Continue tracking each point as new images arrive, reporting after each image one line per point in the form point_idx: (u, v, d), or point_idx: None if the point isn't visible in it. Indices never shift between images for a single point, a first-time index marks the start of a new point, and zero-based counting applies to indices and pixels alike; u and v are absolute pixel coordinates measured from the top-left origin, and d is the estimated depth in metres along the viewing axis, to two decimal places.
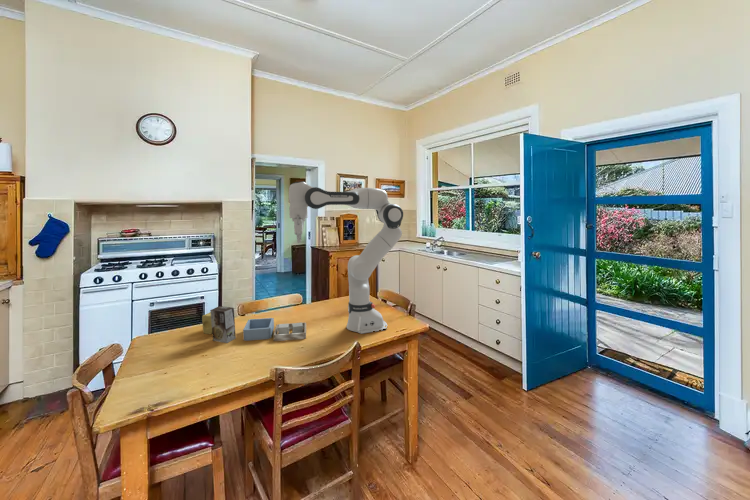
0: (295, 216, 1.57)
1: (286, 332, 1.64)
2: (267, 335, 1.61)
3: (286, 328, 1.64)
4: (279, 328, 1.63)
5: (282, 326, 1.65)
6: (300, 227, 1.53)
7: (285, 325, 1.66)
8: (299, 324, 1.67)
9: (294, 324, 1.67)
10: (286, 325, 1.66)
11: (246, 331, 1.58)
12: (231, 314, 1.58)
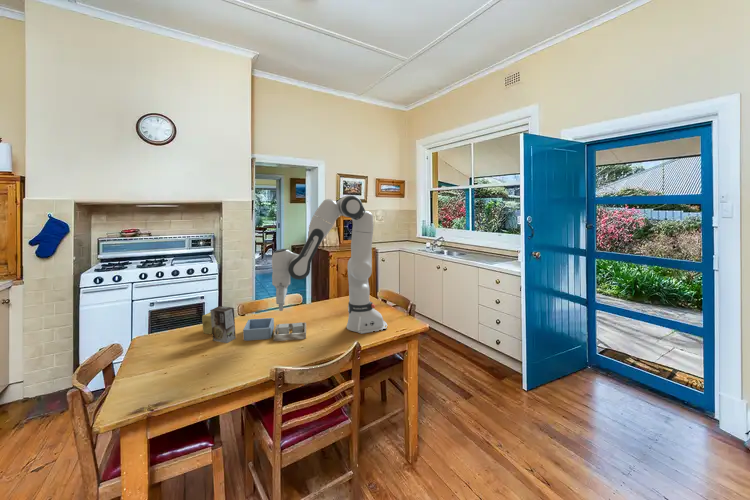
0: (277, 284, 1.58)
1: (286, 332, 1.64)
2: (267, 335, 1.61)
3: (286, 328, 1.64)
4: (279, 328, 1.63)
5: (282, 326, 1.64)
6: (282, 297, 1.53)
7: (285, 325, 1.66)
8: (299, 324, 1.67)
9: (294, 324, 1.67)
10: (286, 325, 1.66)
11: (246, 331, 1.58)
12: (231, 314, 1.58)
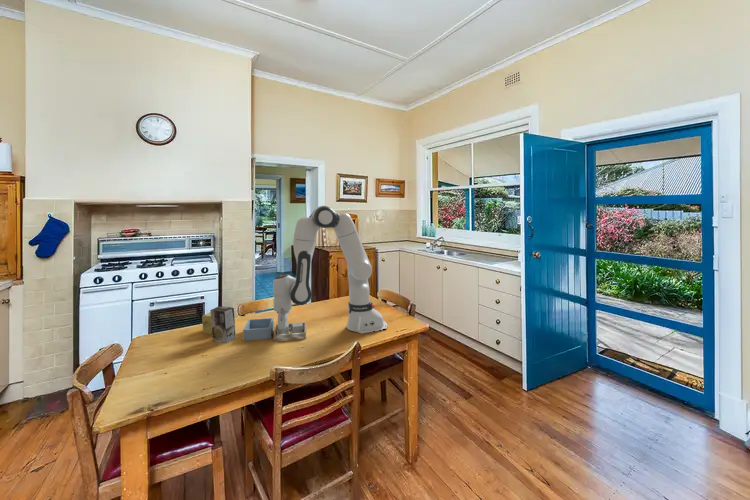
0: (279, 310, 1.60)
1: (286, 332, 1.64)
2: (267, 335, 1.61)
3: (286, 328, 1.64)
4: None
5: None
6: (283, 323, 1.56)
7: None
8: (299, 324, 1.67)
9: (294, 324, 1.67)
10: (286, 325, 1.66)
11: (246, 331, 1.58)
12: (231, 314, 1.58)
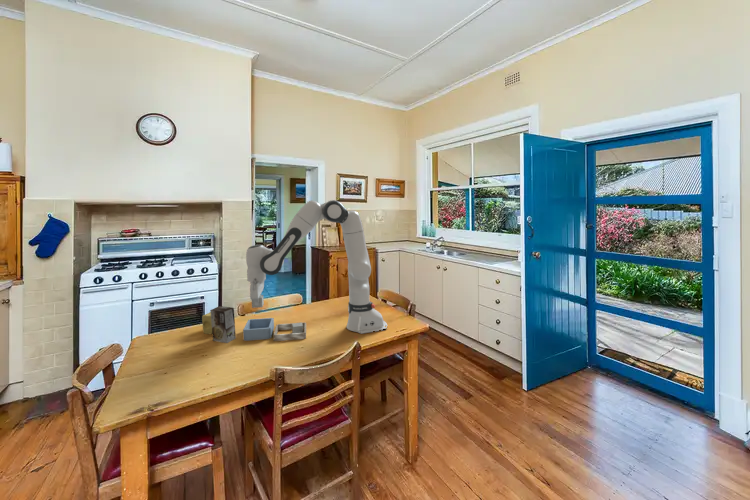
0: (252, 280, 1.58)
1: (260, 303, 1.63)
2: (267, 335, 1.61)
3: (260, 299, 1.62)
4: None
5: None
6: (256, 292, 1.54)
7: (259, 296, 1.64)
8: (299, 324, 1.67)
9: (294, 324, 1.67)
10: (260, 296, 1.64)
11: (246, 331, 1.58)
12: (231, 314, 1.58)
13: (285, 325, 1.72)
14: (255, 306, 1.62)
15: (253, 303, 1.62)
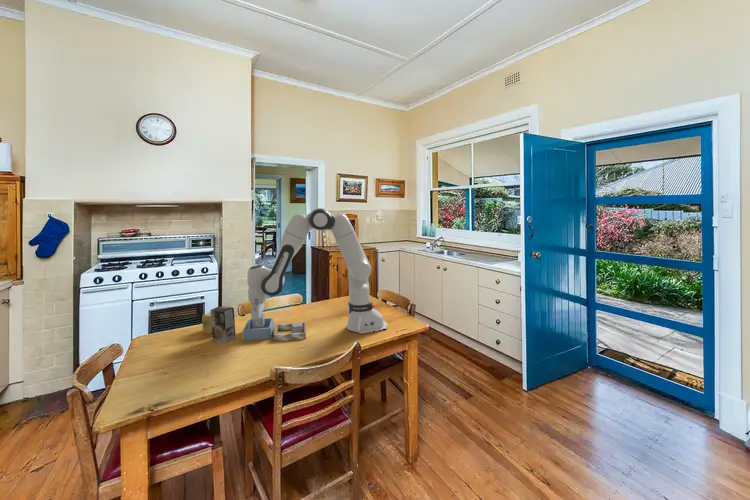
0: (253, 300, 1.60)
1: (261, 322, 1.64)
2: (267, 335, 1.61)
3: (261, 318, 1.64)
4: None
5: None
6: (257, 313, 1.56)
7: None
8: (299, 324, 1.67)
9: (294, 324, 1.67)
10: (261, 315, 1.66)
11: (246, 331, 1.58)
12: (231, 314, 1.58)
13: (285, 325, 1.72)
14: (256, 326, 1.64)
15: (254, 323, 1.63)
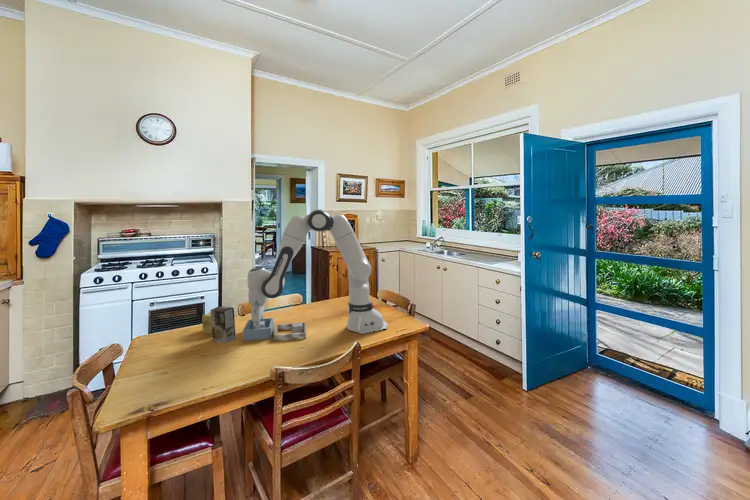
0: (253, 302, 1.60)
1: None
2: (267, 335, 1.61)
3: (261, 325, 1.64)
4: (254, 325, 1.64)
5: None
6: (257, 315, 1.56)
7: (261, 323, 1.67)
8: (299, 324, 1.67)
9: (294, 324, 1.67)
10: (262, 323, 1.67)
11: (246, 331, 1.58)
12: (231, 314, 1.58)
13: (285, 325, 1.72)
14: None
15: None
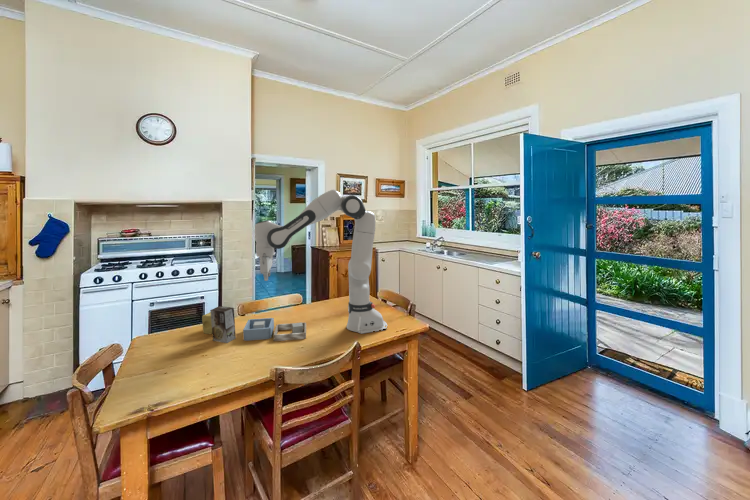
0: (261, 255, 1.61)
1: None
2: (267, 335, 1.61)
3: (261, 325, 1.64)
4: (254, 325, 1.64)
5: (257, 323, 1.65)
6: (265, 266, 1.57)
7: (261, 323, 1.67)
8: (299, 324, 1.67)
9: (294, 324, 1.67)
10: (262, 323, 1.67)
11: (246, 331, 1.58)
12: (231, 314, 1.58)
13: (285, 325, 1.72)
14: None
15: None
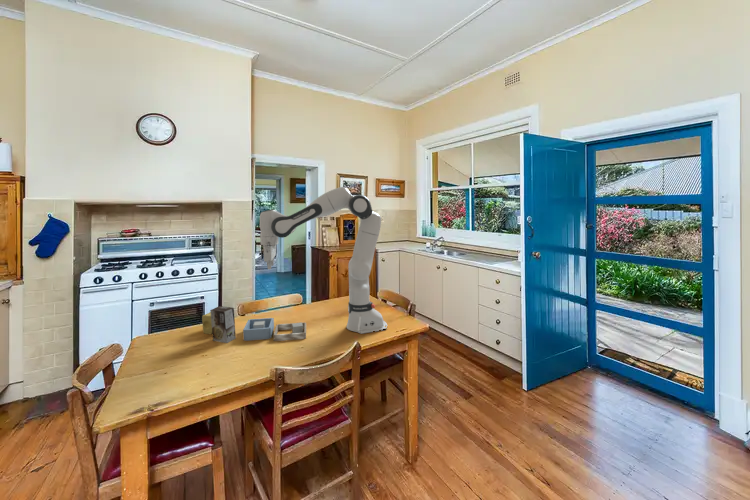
0: (265, 243, 1.62)
1: None
2: (267, 335, 1.61)
3: (261, 325, 1.64)
4: (254, 325, 1.64)
5: (257, 323, 1.65)
6: (269, 255, 1.58)
7: (261, 323, 1.67)
8: (299, 324, 1.67)
9: (294, 324, 1.67)
10: (262, 323, 1.67)
11: (246, 331, 1.58)
12: (231, 314, 1.58)
13: (285, 325, 1.72)
14: None
15: None
